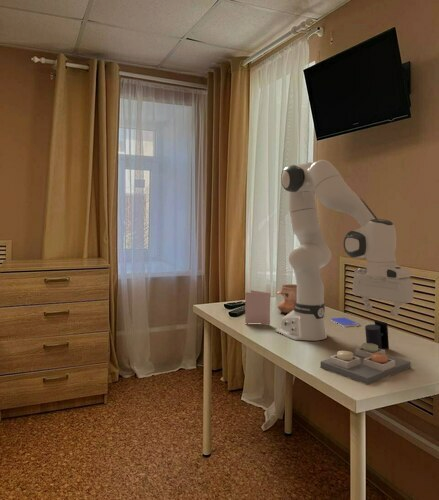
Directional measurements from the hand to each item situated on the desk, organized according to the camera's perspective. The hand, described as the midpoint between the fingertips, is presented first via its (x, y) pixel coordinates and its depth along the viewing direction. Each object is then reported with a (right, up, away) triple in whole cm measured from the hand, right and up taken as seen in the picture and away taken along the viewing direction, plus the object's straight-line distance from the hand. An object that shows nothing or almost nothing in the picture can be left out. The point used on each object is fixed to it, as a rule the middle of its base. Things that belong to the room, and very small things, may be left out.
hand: (381, 312), depth 136 cm
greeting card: (-35, -15, +61) cm, 72 cm away
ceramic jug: (-13, -13, +84) cm, 87 cm away
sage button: (+1, -15, +12) cm, 19 cm away
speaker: (+8, -18, +26) cm, 32 cm away
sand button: (-11, -16, +3) cm, 19 cm away
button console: (-3, -19, +5) cm, 20 cm away
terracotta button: (0, -16, +1) cm, 16 cm away
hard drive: (+7, -15, +64) cm, 66 cm away
